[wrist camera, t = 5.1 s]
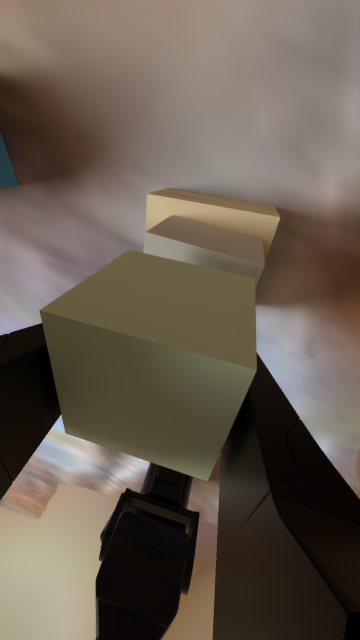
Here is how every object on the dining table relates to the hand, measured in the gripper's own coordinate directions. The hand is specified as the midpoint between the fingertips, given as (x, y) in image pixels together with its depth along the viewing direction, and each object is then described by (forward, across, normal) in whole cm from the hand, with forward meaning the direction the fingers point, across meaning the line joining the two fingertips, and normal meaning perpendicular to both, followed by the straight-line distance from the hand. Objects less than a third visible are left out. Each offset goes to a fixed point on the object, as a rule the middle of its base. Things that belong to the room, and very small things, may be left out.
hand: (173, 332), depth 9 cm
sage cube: (+1, 0, 0) cm, 1 cm away
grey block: (+7, 0, 0) cm, 7 cm away
